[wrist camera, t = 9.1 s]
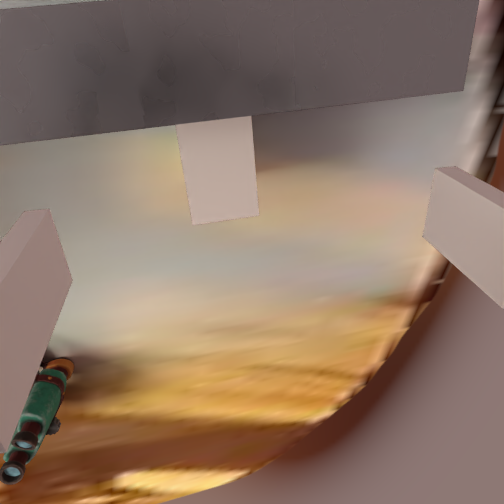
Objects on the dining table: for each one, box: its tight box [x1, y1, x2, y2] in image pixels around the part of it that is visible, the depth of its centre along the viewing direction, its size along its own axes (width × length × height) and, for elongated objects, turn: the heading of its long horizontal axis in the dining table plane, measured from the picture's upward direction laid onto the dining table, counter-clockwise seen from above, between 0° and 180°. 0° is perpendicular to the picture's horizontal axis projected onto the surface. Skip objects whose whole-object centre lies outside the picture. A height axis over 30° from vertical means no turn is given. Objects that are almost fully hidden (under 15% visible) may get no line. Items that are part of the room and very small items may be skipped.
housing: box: [0, 0, 479, 145], centre depth 25 cm, size 5×24×17 cm, turn 95°
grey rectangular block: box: [175, 116, 259, 225], centre depth 28 cm, size 23×5×9 cm, turn 5°
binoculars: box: [0, 359, 74, 485], centre depth 41 cm, size 9×11×10 cm
